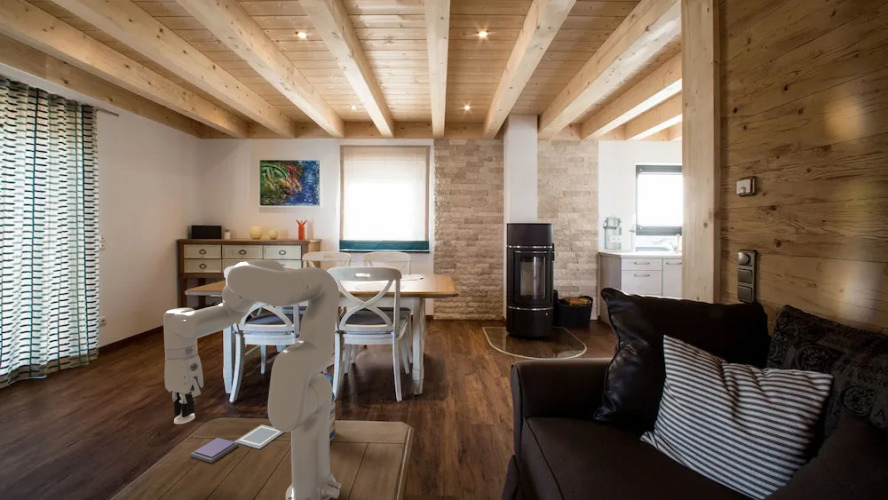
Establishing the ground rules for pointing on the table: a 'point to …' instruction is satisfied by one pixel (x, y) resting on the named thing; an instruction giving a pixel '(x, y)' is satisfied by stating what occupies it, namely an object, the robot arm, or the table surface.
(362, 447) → the table surface
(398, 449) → the table surface
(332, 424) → the beverage bottle
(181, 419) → the chess piece
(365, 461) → the table surface
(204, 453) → the ink pad
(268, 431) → the pale blue flat square
